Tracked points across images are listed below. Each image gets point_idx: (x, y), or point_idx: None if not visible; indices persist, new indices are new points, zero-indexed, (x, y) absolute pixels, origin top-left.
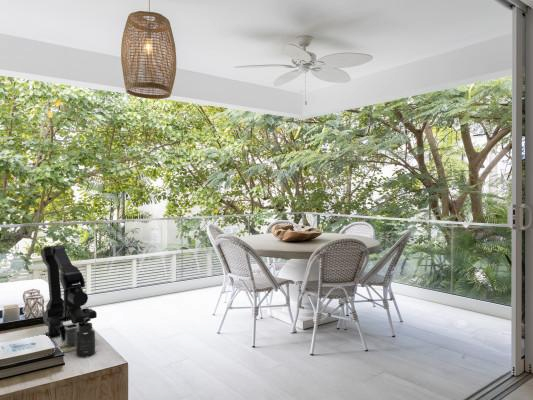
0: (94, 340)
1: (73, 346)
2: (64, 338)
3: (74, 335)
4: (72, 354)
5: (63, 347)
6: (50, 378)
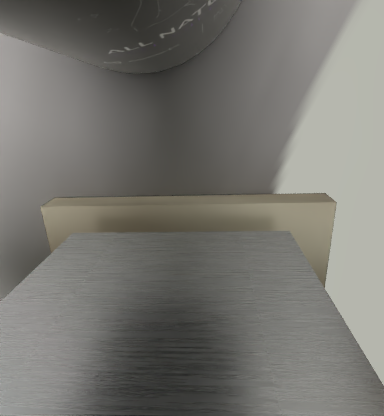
0: None
1: None
2: None
3: (171, 309)
4: (267, 75)
5: None
6: None
